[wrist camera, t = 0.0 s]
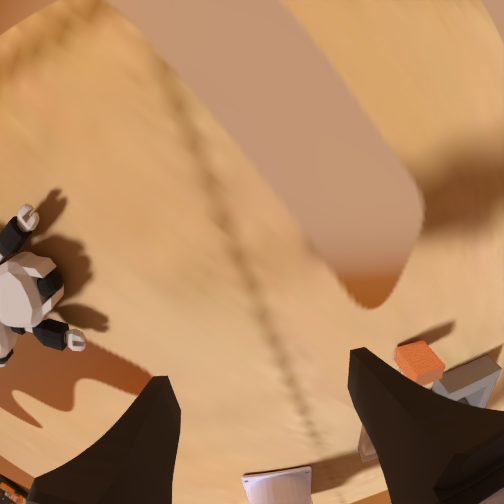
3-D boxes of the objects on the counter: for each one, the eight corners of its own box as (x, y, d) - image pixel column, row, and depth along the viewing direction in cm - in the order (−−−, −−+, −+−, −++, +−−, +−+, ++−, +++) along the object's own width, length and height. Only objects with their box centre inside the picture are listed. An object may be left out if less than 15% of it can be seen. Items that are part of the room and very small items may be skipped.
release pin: (411, 390, 25) (428, 416, 22) (386, 398, 25) (402, 426, 22) (422, 339, 23) (445, 365, 20) (396, 347, 23) (417, 375, 20)
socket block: (411, 431, 29) (418, 443, 26) (357, 448, 28) (363, 462, 26) (424, 392, 26) (433, 405, 24) (364, 411, 26) (371, 427, 24)
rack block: (469, 402, 28) (480, 416, 26) (419, 423, 28) (429, 440, 25) (487, 354, 26) (501, 368, 23) (435, 376, 26) (449, 394, 23)
